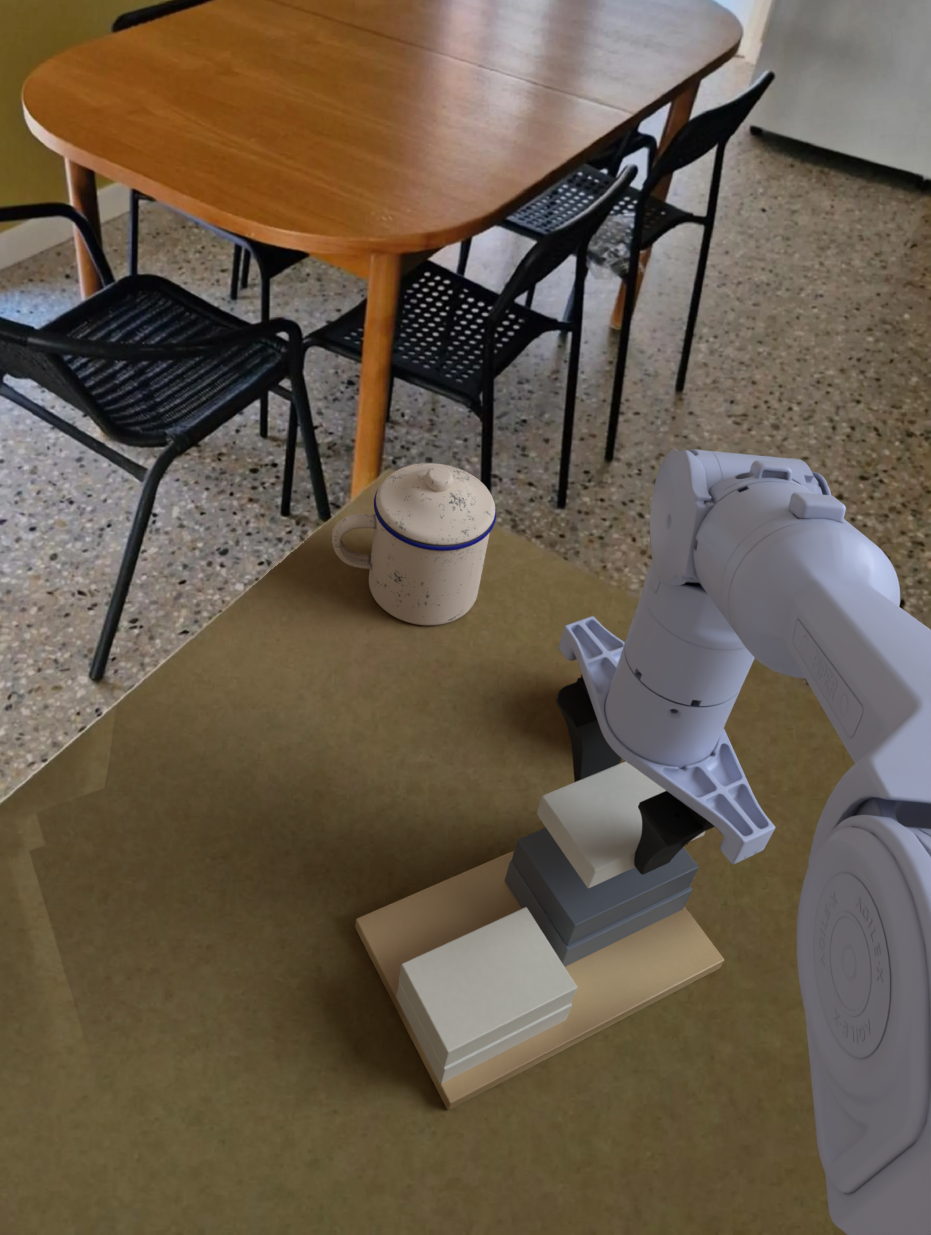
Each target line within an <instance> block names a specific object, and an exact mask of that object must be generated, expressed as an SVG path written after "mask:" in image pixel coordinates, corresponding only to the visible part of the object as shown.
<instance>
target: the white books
mask: <svg viewBox="0 0 931 1235" xmlns="http://www.w3.org/2000/svg"><path fill="white" fill-rule="evenodd" d="M576 990H577V986H576V984H575V983H574V981H573V980H572V978H571V976H570V975H569V973H568V972H567V970H566V969H565V967H564V965H563V964H562V962H561V961H560V959H559V957H558V956H557V954H556V953H555V951H554V950H553V948H552V946H551V945H550V943H549V942H548V940H547V939H546V937H545V935H544V934H543V932H542V931H541V929H540V928H539V926H538V924H537V923H536V921H535V920H534V918H533V917H532V915H531V913H530V912H529V910H528V909H527V907H525V908H523V909H521V910H518V911H516V912H514V913H512V914H510V915H507V916H505V917H503V918H501V919H499V920H496V921H494V922H492V923H490V924H488V925H486V926H483V927H481V928H479V929H477V930H475V931H472V932H470V933H468V934H466V935H464V936H462V937H459V938H457V939H455V940H453V941H451V942H448V943H446V944H444V945H442V946H440V947H437V948H435V949H433V950H431V951H429V952H427V953H424V954H422V955H420V956H418V957H416V958H413V959H411V960H409V961H407V962H405V963H403V964H402V965H401V970H400V975H399V985H398V990H397V995H396V998H397V1000H398V1002H399V1004H400V1006H401V1008H402V1010H403V1012H404V1014H405V1016H406V1018H407V1020H408V1021H409V1023H410V1025H411V1027H412V1029H413V1031H414V1033H415V1035H416V1037H417V1039H418V1041H419V1043H420V1045H421V1047H422V1049H423V1051H424V1053H425V1055H426V1057H427V1059H428V1061H429V1063H430V1065H431V1067H432V1069H433V1071H434V1073H435V1074H436V1076H437V1078H438V1080H439V1082H440V1084H442V1083H444V1082H446V1081H448V1080H450V1079H452V1078H454V1077H456V1076H458V1075H460V1074H462V1073H464V1072H465V1071H467V1070H469V1069H471V1068H473V1067H475V1066H477V1065H479V1064H481V1063H483V1062H485V1061H487V1060H489V1059H491V1058H493V1057H495V1056H497V1055H499V1054H501V1053H503V1052H505V1051H506V1050H508V1049H510V1048H512V1047H514V1046H516V1045H518V1044H520V1043H522V1042H524V1041H526V1040H528V1039H530V1038H532V1037H534V1036H536V1035H538V1034H540V1033H542V1032H544V1031H546V1030H548V1029H549V1028H551V1027H553V1026H555V1025H557V1024H559V1023H561V1022H563V1021H565V1020H566V1019H567V1016H568V1014H569V1011H570V1009H571V1006H572V1004H571V1002H572V999H573V997H574V994H575V992H576Z"/></svg>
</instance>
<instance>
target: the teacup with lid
mask: <svg viewBox="0 0 931 1235" xmlns="http://www.w3.org/2000/svg"><path fill="white" fill-rule="evenodd" d="M496 507H497V506H496V504H495V500H494V498H493V496H492V494H491V491H490V490H489V489H488V487H487V486H486V485H485V484H484V483H483V482H482V481H481V480H479V479H478V478H477V477H475V476H474V475H472V474H471V473H469V472H468V471H465V470H463V469H461V468H458V467H455V466H453V465H448V464H443V463H433V462H424V463H422V462H421V463H415V464H410V465H407V466H404V467H400V468H399V469H396V470H395V471H393V472H391V473H390V474H389V475H388V476H386V477H385V478H384V479H383V480H382V482H381V483H380V484H379V486H378V488H377V489H376V492H375V494H374V498H373V511H374V513H353V514H349V515H347V516H345V517H343V518H341V519H340V520H339V521H337V522H336V524H335V525H334V527H333V528H332V532H331V544H332V548H333V551H334V553H335V554H336V556H337V557H338V558H339V559H340V561H342V562H343V563H344V564H346V565H348V566H350V567H353V568H357V569H364V570H365V569H366V570H369V572H368V573H369V574H368V587H369V590H370V593H371V595H372V597H373V599H374V600H375V602H376V603H377V604H378V605H379V607H381V609H383V610H384V611H385V612H386V613H388V614H389V615H391V616H392V617H395V618H396V619H398V620H401V621H403V622H406V623H410V624H413V625H420V626H439V625H440V626H441V625H444V624H448V623H451V622H454V621H456V620H458V619H460V618H462V617H464V616H465V615H466V614H467V613H468V612H469V611H470V610H471V609H472V608H473V606H474V604H475V603H476V600H477V598H478V595H479V590H480V584H481V579H482V574H483V568H484V565H485V559H486V554H487V549H488V545H489V544H488V543H489V540H490V534H491V532H492V530H493V528H494V526H495V523H496V520H497V509H496ZM358 529H370V530H371V529H373V535H372V544H371V554H367V553H359V552H355V551H353V550H351V549H349V548H348V547H347V546H346V545H345V544H344V542H343V541H342V540H343V539H342V538H343V537H344V535H346V534H347V533H349V532H350V531H352V530H358Z"/></svg>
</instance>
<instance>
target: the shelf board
mask: <svg viewBox="0 0 931 1235" xmlns="http://www.w3.org/2000/svg"><path fill="white" fill-rule="evenodd" d="M513 854H514V850H512V851H509V852H508V853H505V854H503V855H501V856H498V857H496V858H493V859H491V860H488V861H486V862H484V863H482V864H480V865H478V866H475V867H473V868H470V869H468V870H466V871H464V872H461V873H459V874H457V875H455V876H452V877H450V878H447V879H445V880H442V881H441V882H437V883H436V884H433V885H432V886H429V887H427V888H424V889H422V890H420V891H417V892H415V893H413V894H411V895H408V896H405V897H403V898H401V899H399V900H397V901H394V902H392V903H390V904H387V905H384V906H383V907H380V908H378V909H376V910H373V911H371V912H368V913H367V914H364V915H362V916H360V917H357V918H356V919H355V925H354V928H355V930H356V933H357V934H358V936H359V938H360V940H361V943H362V944H363V946H364V948H365V950H366V953H367V954H368V956H369V959H370V960H371V962H372V964H373V966H374V968H375V970H376V972H377V974H378V976H379V978H380V980H381V982H382V984H383V985H384V988H385V990H386V992H387V994H388V996H389V997H390V999H391V1001H392V1003H393V1006H394V1007H395V1009H396V1011H397V1013H398V1016H399V1018H400V1020H401V1021H402V1024H403V1026H404V1027H405V1030H406V1032H407V1033H408V1036H409V1037H410V1040H411V1041H412V1043H413V1045H414V1047H415V1049H416V1051H417V1053H418V1055H419V1057H420V1059H421V1061H422V1063H423V1065H424V1067H425V1069H426V1071H427V1072H428V1075H429V1077H430V1079H431V1081H432V1082H433V1084H434V1087H435V1089H436V1090H437V1091H436V1092H438V1095H439V1097H440V1099H441V1100H442V1102H443V1105H444V1106H445V1108H446V1110H447V1111H451V1110H452V1109H454V1108H456V1107H458V1106H460V1105H463V1104H464V1103H466V1102H468V1101H469V1100H472V1099H474V1098H475V1097H477V1096H479V1095H481V1094H482V1093H485V1092H487V1091H489V1090H490V1089H492V1088H494V1087H496V1086H498V1085H500V1084H503V1083H504V1082H506V1081H508V1080H509V1079H511V1078H513V1077H515V1076H518V1075H519V1074H521V1073H524V1072H525V1071H526V1070H529V1069H531V1068H533V1067H534V1066H536V1065H538V1064H540V1063H542V1062H544V1061H546V1060H547V1059H550V1058H552V1057H554V1056H556V1055H557V1054H559V1053H561V1052H563V1051H565V1050H567V1049H569V1048H570V1047H572V1046H574V1045H576V1044H578V1043H580V1042H582V1041H584V1040H587V1039H588V1038H590V1037H591V1036H593V1035H595V1034H597V1033H599V1032H601V1031H603V1030H605V1029H607V1028H609V1027H611V1026H613V1025H614V1024H616V1023H618V1022H620V1021H622V1020H624V1019H627V1018H628V1017H630V1016H632V1015H634V1014H636V1013H638V1012H639V1011H642V1010H643V1009H645V1008H647V1007H649V1006H651V1005H653V1004H655V1003H656V1002H659V1001H661V1000H662V999H664V998H666V997H669V996H671V995H672V994H673V993H676V992H678V991H680V990H681V989H683V988H685V987H687V986H689V985H691V984H692V983H694V982H695V983H696V981H698V980H700V979H702V978H704V977H706V976H708V975H710V974H712V973H713V972H715V971H718V970H719V969H721V968H722V966H723V964H724V962H725V958H724V957H723V956H722V954H721V953H720V952H719V950H718V949H717V948H716V946H715V945H714V943H713V942H712V941H711V939H710V938H709V937H708V936H707V934H706V933H705V932H704V930H703V928H702V927H701V926H700V925H699V923H698V922H697V921H696V920H695V918H694V917H693V916H692V914H691V913H690V911H689V910H688V908H686V906H685V907H684V909H682V910H680V911H678V912H676V913H674V914H672V915H670V916H668V917H666V918H664V919H662V920H660V921H658V922H656V923H654V924H652V925H649V926H647V927H645V928H643V929H641V930H639V931H637V932H635V933H633V934H631V935H629V936H627V937H625V938H623V939H621V940H619V941H617V942H615V943H613V944H611V945H609V946H607V947H605V948H603V949H600V950H598V951H596V952H594V953H592V954H590V955H588V956H586V957H584V958H582V959H580V960H578V961H576V962H574V963H572V964H570V965H568V966H566V967H565V969H566V970H567V972H568V973H569V975H570V976H571V978H572V980H573V981H574V983H575V984H576V986H577V990H576V992H575V994H574V997H573V999H572V1002H571V1004H572V1006H571V1009H570V1011H569V1014H568V1016H567V1019H566V1020H565V1021H563V1022H561V1023H559V1024H557V1025H555V1026H553V1027H551V1028H549V1029H548V1030H546V1031H544V1032H542V1033H540V1034H538V1035H536V1036H534V1037H532V1038H530V1039H528V1040H526V1041H524V1042H522V1043H520V1044H518V1045H516V1046H514V1047H512V1048H510V1049H508V1050H506V1051H505V1052H503V1053H501V1054H499V1055H497V1056H495V1057H493V1058H491V1059H489V1060H487V1061H485V1062H483V1063H481V1064H479V1065H477V1066H475V1067H473V1068H471V1069H469V1070H467V1071H465V1072H464V1073H462V1074H460V1075H458V1076H456V1077H454V1078H452V1079H450V1080H448V1081H446V1082H444V1083H442V1084H440V1082H439V1080H438V1078H437V1076H436V1074H435V1073H434V1071H433V1069H432V1067H431V1065H430V1063H429V1061H428V1059H427V1057H426V1055H425V1053H424V1051H423V1049H422V1047H421V1045H420V1043H419V1041H418V1039H417V1037H416V1035H415V1033H414V1031H413V1029H412V1027H411V1025H410V1023H409V1021H408V1020H407V1018H406V1016H405V1014H404V1012H403V1010H402V1008H401V1006H400V1004H399V1002H398V1000H397V998H396V995H397V990H398V985H399V975H400V970H401V965H402V964H403V963H405V962H407V961H409V960H411V959H413V958H416V957H418V956H420V955H422V954H424V953H427V952H429V951H431V950H433V949H435V948H437V947H440V946H442V945H444V944H446V943H448V942H451V941H453V940H455V939H457V938H459V937H462V936H464V935H466V934H468V933H470V932H472V931H475V930H477V929H479V928H481V927H483V926H486V925H488V924H490V923H492V922H494V921H496V920H499V919H501V918H503V917H505V916H507V915H510V914H512V913H514V912H516V911H518V910H521V909H522V908H521V906H520V904H519V903H518V901H517V900H516V898H515V897H514V895H513V893H512V892H511V890H510V889H509V887H508V885H507V884H506V882H505V877H506V873H507V870H508V866H509V863H510V861H511V860H512V857H513Z"/></svg>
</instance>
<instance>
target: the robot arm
mask: <svg viewBox="0 0 931 1235" xmlns="http://www.w3.org/2000/svg"><path fill="white" fill-rule="evenodd" d="M846 510H847V507H846V505H845V504H844V503H843V502H841V501H840V500H838V498H836V497H835V496H833V495H832V492H831V489H830V487H829V485H828V481H827V480H826V479H825V477H824V476H823V475H822V474H820V473H819V472H816V471H812V470H811V468H810V466H809V465H808V464H807V463H806V462H805V461H803V460H802V459H799V458H791V457H780V456H770V455H769V456H768V455H757V454H748V453H736V452H726V451H716V450H706V449H694V448H690V449H682V450H678V449H675V448H673V449H671V450H669V451H668V452H666V454H665V456H664V457H663V459H662V461H661V463H660V466H659V468H658V471H657V474H656V478H655V481H654V486H653V491H652V497H651V503H650V514H649V547H650V554H651V561H650V565H649V568H648V571H647V574H646V576H645V580H644V583H643V586H642V590H641V592H640V596H639V599H638V601H637V604H636V608H635V611H634V613H633V616H632V619H631V620H632V621H631V623H630V626H629V629H628V632H627V635H626V638H625V641H624V640H622V639H621V638H619V637H618V636H616V635H615V634H614V633H612V632H611V631H610V630H608V629H607V628H606V627H605V626H604V625H602V623H601V622H600V621H599V620H598V619H597V618H596V617H595V616H594V615H592V616H588V617H586V618H585V617H584V618H583V619H580V620H577V621H574V622H571V623H568V624H565V625H564V626H563V630H562V634H561V638H560V640H559V644H558V648H557V649H558V651H559V652H560V653H561V655H562V656H563V657H564V658H565V659H566V660H567V661H570V662H573V661H577V664H578V666H579V669H580V673H581V674H582V675H581V674H580V677H581V678H580V677H578V678H577V679H576V681H575V682H573V683H569V684H567V685H564V686H563V687H561V688H560V689H559V690H558V692H557V695H556V699H555V703H556V705H557V707H558V708H559V710H560V713H561V715H562V717H563V720H564V722H565V725H566V729H567V732H568V736H569V741H570V747H571V754H572V769H573V780H574V781H573V782H576V781H579V780H581V779H584V778H586V777H589V776H591V775H593V774H596V773H598V772H601V771H603V770H605V769H608V768H610V767H613V766H615V765H618V764H620V763H621V760H622V759H623V761H624V762H625V761H626V762H627V763H629V764H630V765H632V766H633V767H634V768H636V769H637V770H638V771H640V772H641V773H643V774H644V775H645V776H647V777H648V778H650V779H651V780H652V781H654V782H655V783H656V784H658V785H659V786H661V787H662V788H663V789H665V790H666V791H664V792H662V793H660V794H658V795H655V796H653V797H651V798H648V799H646V800H644V801H641V802H640V803H639V805H638V808H639V810H640V813H641V817H642V833H641V838H640V841H639V844H638V846H637V849H636V851H635V857H634V866H635V867H636V868H637V870H638V871H639V873H640V874H643V875H644V874H646V873H648V872H650V871H652V870H655V869H657V868H659V867H661V866H663V865H665V864H667V863H669V862H670V861H671V860H672V859H673V858H674V856H675V855H676V854H677V853H678V852H679V851H680V850H681V849H682V848H683V847H684V848H685V846H687V845H688V844H689V843H690V842H692V841H691V840H693V839H694V838H695V837H697V836H698V835H700V834H701V833H703V832H704V831H708V830H711V829H713V828H716V829H717V830H718V831H719V833H720V834H721V835H722V840H721V842H720V844H719V850H720V852H721V853H722V854H723V855H724V856H725V858H726V860H728V861H729V863H730V864H731V865H735V864H737V863H740V862H741V861H744V860H746V859H749V858H750V857H752V856H754V855H756V854H759V853H760V852H763V851H764V850H765V848H766V846H767V845H768V843H769V841H770V839H771V837H772V835H773V833H774V832H775V830H776V826H775V824H774V823H773V822H772V821H771V819H770V818H769V817H768V816H767V815H766V813H765V812H764V810H763V808H762V807H761V805H760V803H759V802H758V800H757V798H756V797H755V795H754V792H753V790H752V788H751V786H750V784H749V781H748V779H747V776H746V775H745V772H744V770H743V768H742V765H741V763H740V761H739V758H738V757H737V754H736V752H735V750H734V747H733V745H732V743H731V741H730V739H729V737H728V734H727V732H726V729H725V726H726V724H727V722H728V719H729V716H730V714H731V713H732V710H733V708H734V706H735V703H736V701H737V699H738V697H739V694H740V692H741V691H742V690H741V689H742V687H743V684H744V683H745V681H746V679H747V676H748V674H749V672H750V669H751V668H752V665H753V662H754V661H755V660H756V661H758V662H759V663H760V664H762V665H764V666H765V667H766V668H768V669H769V670H771V671H774V672H775V673H778V674H781V675H784V676H787V677H792V678H796V679H804V680H805V681H806V682H807V684H808V686H809V687H810V689H811V690H812V693H813V694H814V696H815V698H816V699H817V702H818V703H819V705H820V707H821V708H822V709H823V711H824V714H825V715H826V717H827V718H828V720H829V722H830V723H831V725H832V727H833V729H834V730H835V732H836V734H837V735H838V737H839V739H840V740H841V742H842V745H843V747H844V748H845V749H846V751H847V753H848V755H849V756H850V758H851V760H852V761H853V763H854V764H853V765H852V766H851V767H850V768H849V769H848V770H847V771H846V772H845V773H844V774H843V775H842V777H841V778H840V779H839V780H838V782H837V784H836V785H835V786H834V788H833V790H831V791H832V792H831V793H830V795H829V797H828V799H827V801H826V802H825V804H824V807H823V808H822V811H821V814H820V816H819V818H818V821H817V824H816V827H815V830H814V835H813V837H812V842H811V847H810V850H809V855H808V861H807V869H806V873H805V875H804V879H803V882H802V886H801V889H800V890H801V891H800V896H799V901H798V910H797V919H796V920H797V921H796V962H797V973H798V981H799V990H800V994H801V1000H802V1005H803V1009H804V1014H805V1015H804V1016H805V1027H806V1037H807V1045H808V1046H807V1048H808V1049H807V1050H808V1059H809V1060H808V1061H809V1070H810V1071H809V1072H810V1081H811V1093H812V1103H813V1114H814V1125H815V1135H816V1146H817V1152H818V1156H819V1159H820V1164H821V1166H822V1169H823V1171H824V1176H825V1186H826V1197H827V1198H826V1200H827V1208H828V1214H829V1217H830V1219H831V1221H832V1223H833V1224H834V1226H836V1227H837V1228H838V1229H840V1230H841V1231H842V1232H843V1233H845V1235H931V628H929V627H928V626H926V625H925V624H924V623H922V622H921V621H919V620H918V619H917V618H915V617H914V616H913V615H911V614H910V613H909V612H907V611H906V610H904V609H903V608H902V607H900V604H901V587H900V582H899V578H898V575H897V572H896V570H895V567H894V565H893V564H892V562H891V560H890V559H889V558H888V556H887V555H886V554H885V552H884V551H883V550H882V549H881V548H880V547H879V546H878V545H876V543H874V542H873V541H872V540H870V538H868V537H867V536H866V535H865V534H863V533H862V532H861V531H860V530H859V529H857V528H856V527H855V526H853V525H852V524H851V523H850V522H849V521H848V520H846V519H845V514H846ZM693 841H694V840H693Z"/></svg>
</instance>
